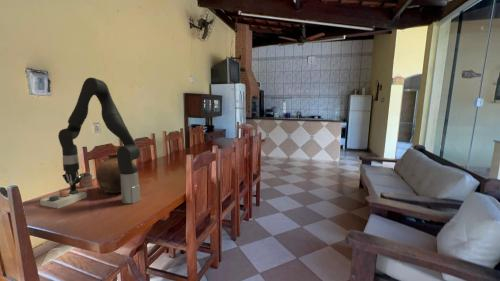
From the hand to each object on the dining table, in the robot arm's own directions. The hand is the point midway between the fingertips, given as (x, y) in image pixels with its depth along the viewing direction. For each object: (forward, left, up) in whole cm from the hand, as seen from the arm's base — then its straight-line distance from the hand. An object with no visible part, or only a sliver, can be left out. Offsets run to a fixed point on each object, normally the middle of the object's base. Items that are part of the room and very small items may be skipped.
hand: (73, 190), depth 144 cm
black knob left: (0, +11, -3) cm, 12 cm away
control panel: (0, +6, -4) cm, 7 cm away
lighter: (+10, -16, -5) cm, 19 cm away
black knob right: (0, 0, -3) cm, 3 cm away
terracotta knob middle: (0, +6, -1) cm, 6 cm away
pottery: (-15, -18, -5) cm, 24 cm away
